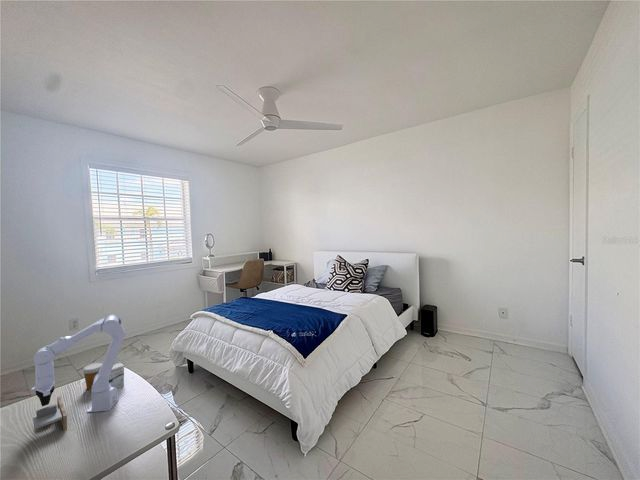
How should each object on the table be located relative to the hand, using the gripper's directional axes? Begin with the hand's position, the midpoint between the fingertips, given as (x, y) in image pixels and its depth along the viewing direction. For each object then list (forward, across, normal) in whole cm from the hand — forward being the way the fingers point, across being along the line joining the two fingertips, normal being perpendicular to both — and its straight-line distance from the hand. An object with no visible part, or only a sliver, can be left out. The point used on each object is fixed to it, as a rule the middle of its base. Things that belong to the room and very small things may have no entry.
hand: (45, 404), depth 116 cm
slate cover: (+3, +8, 0) cm, 8 cm away
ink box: (+9, -9, +27) cm, 30 cm away
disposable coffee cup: (+9, -18, +20) cm, 28 cm away
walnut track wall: (+8, +2, +5) cm, 10 cm away
